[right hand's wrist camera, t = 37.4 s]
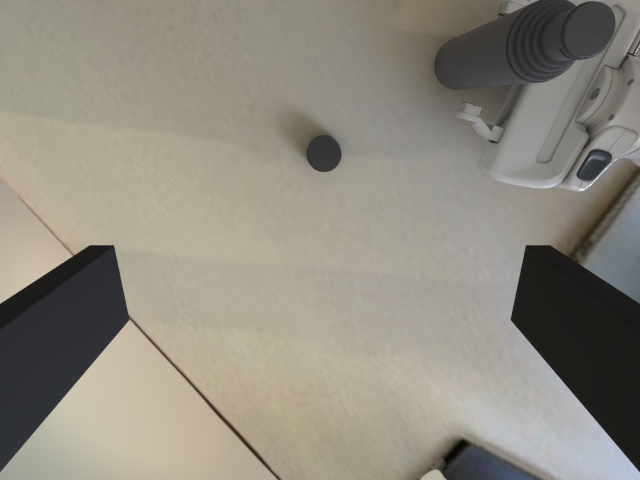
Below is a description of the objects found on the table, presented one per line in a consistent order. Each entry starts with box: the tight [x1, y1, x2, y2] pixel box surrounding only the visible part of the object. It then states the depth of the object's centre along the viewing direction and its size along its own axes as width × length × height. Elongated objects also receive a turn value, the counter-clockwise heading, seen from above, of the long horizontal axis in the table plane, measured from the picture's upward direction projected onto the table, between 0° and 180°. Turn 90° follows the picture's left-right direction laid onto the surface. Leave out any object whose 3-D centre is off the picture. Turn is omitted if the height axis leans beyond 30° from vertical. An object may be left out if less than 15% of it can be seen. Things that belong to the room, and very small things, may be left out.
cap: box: [307, 136, 341, 172], centre depth 45 cm, size 4×4×2 cm
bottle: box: [435, 0, 616, 89], centre depth 32 cm, size 5×5×22 cm
